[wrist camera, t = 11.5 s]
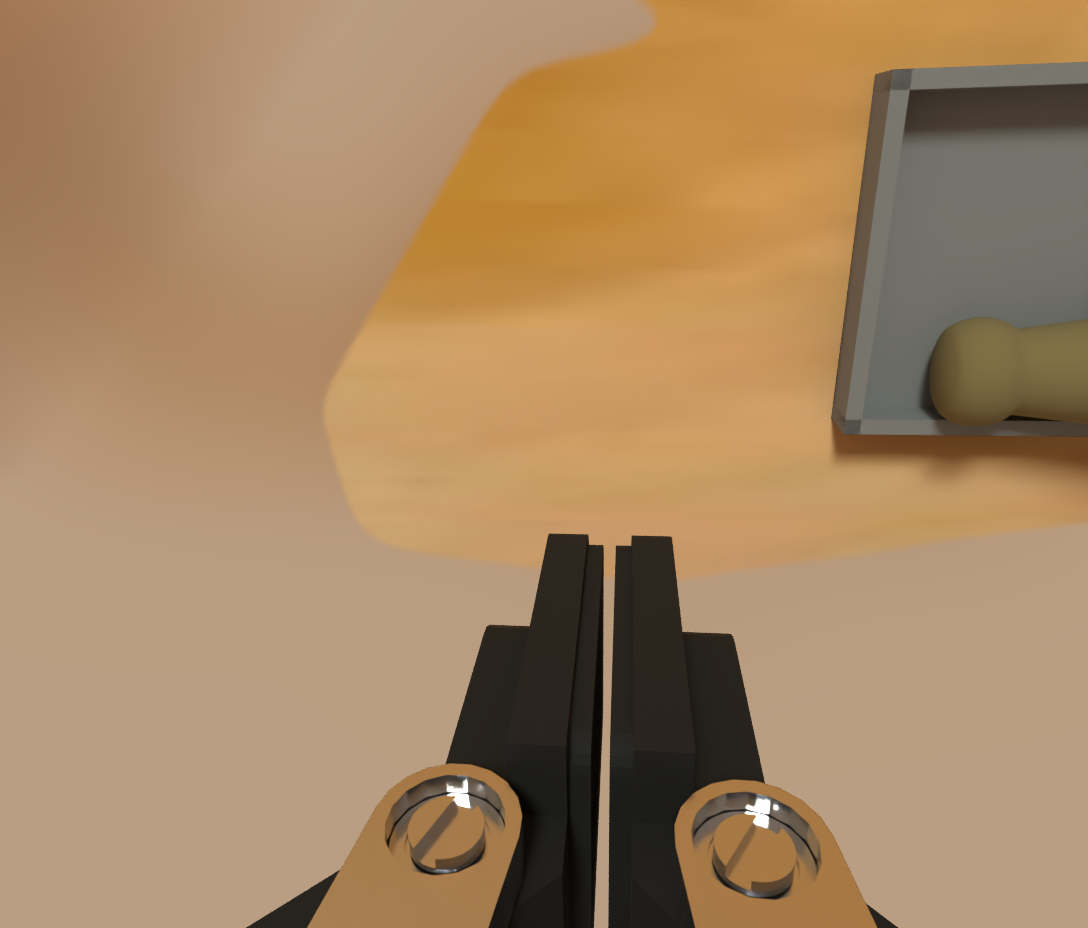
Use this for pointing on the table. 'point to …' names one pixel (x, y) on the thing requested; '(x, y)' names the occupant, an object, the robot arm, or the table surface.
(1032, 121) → the tray
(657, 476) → the table surface
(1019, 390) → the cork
